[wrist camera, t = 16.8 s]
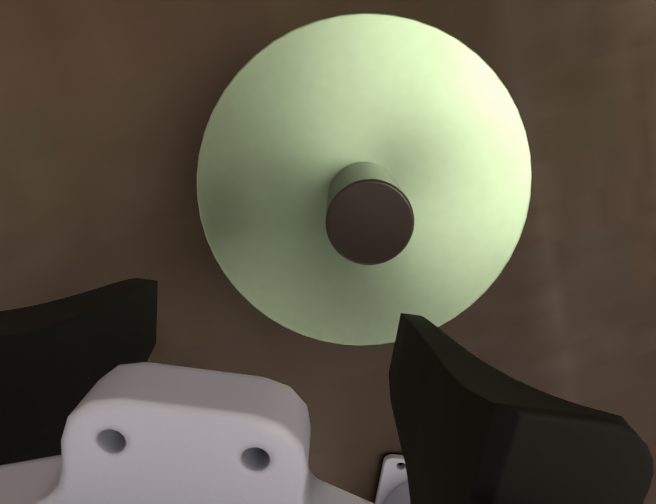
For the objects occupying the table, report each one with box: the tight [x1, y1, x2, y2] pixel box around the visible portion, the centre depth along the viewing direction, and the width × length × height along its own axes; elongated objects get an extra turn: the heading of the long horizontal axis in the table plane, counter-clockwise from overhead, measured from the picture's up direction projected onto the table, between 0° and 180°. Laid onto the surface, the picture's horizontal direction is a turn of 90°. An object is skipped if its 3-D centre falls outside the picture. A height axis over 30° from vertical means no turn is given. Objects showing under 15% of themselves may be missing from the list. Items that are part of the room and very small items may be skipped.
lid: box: [197, 12, 532, 346], centre depth 15 cm, size 11×11×5 cm
